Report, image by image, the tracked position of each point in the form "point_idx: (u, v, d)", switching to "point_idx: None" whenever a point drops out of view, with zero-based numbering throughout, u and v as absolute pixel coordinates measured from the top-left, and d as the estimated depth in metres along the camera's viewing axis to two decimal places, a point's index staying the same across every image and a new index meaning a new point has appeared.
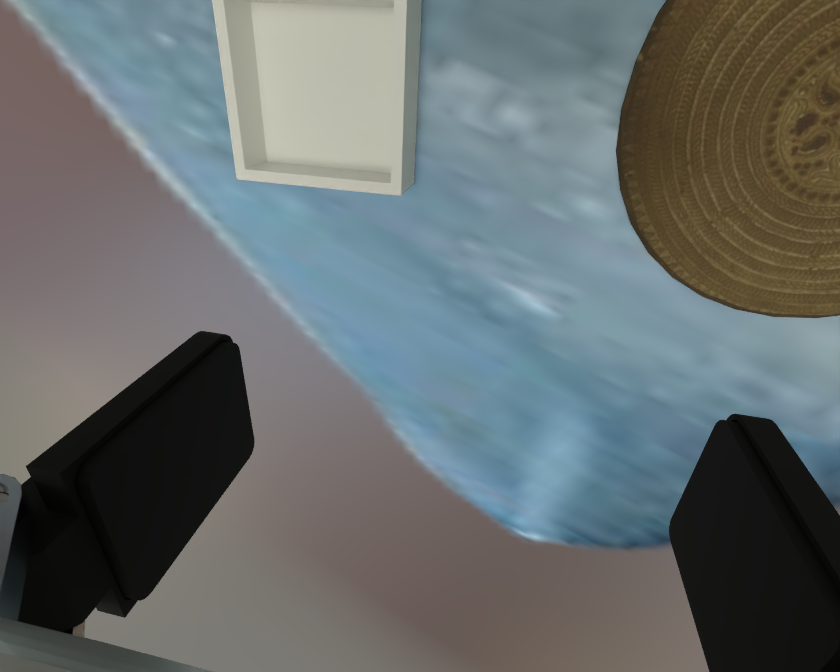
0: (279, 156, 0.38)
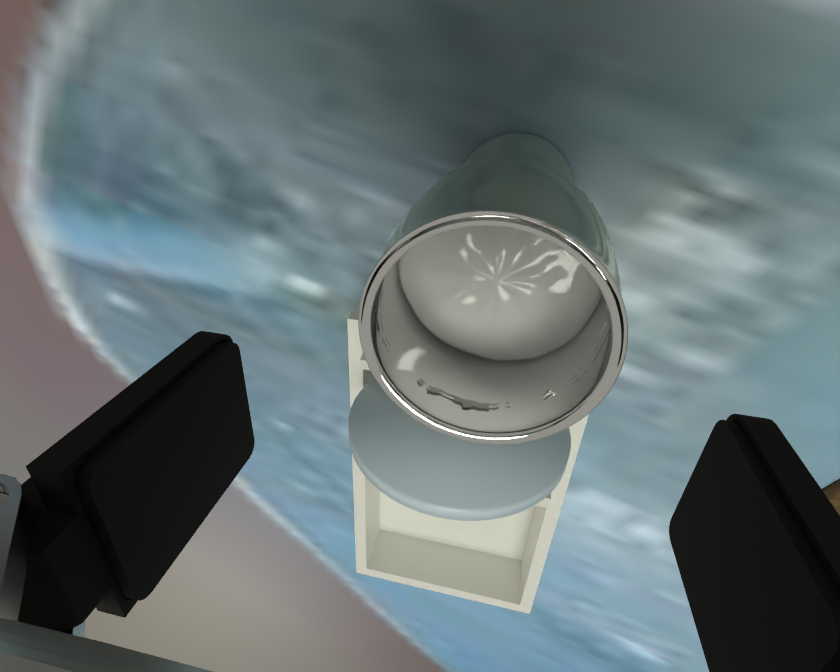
0: (393, 528, 0.38)
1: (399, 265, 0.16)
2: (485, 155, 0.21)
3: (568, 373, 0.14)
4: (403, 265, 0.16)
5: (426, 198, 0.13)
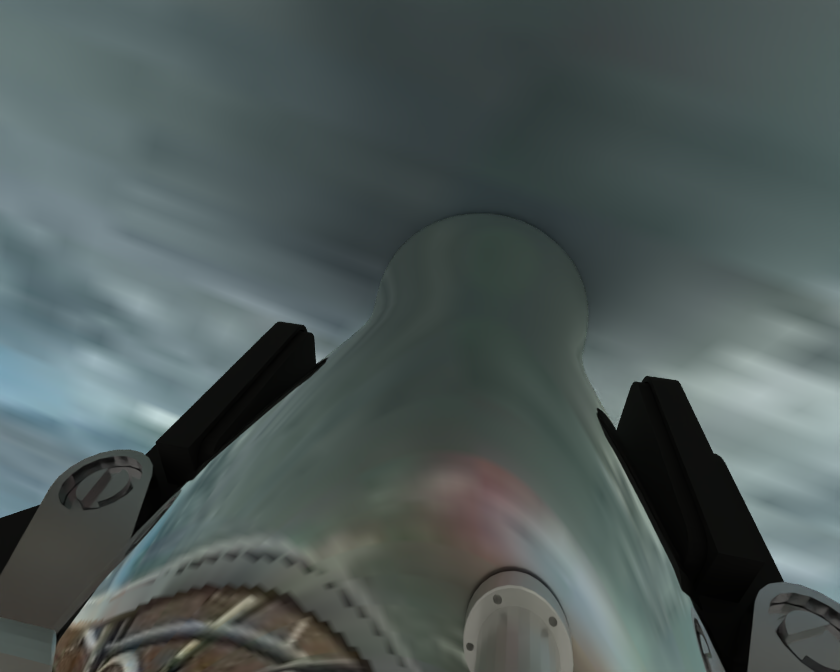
0: None
1: None
2: (418, 265, 0.11)
3: None
4: None
5: None
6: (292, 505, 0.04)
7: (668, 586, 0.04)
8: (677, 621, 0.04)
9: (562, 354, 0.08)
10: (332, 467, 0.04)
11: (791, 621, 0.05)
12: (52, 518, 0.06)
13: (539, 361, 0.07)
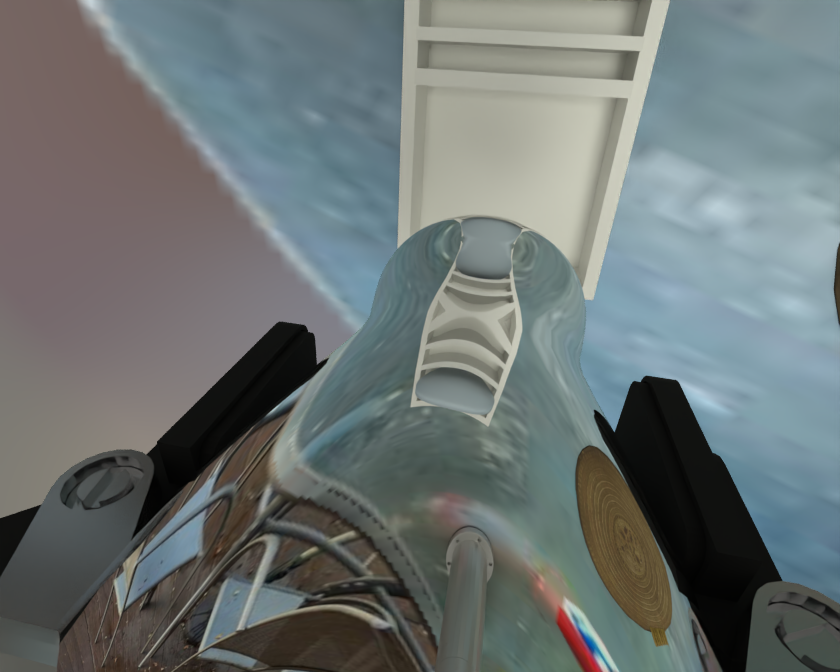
0: None
1: None
2: (415, 267, 0.11)
3: None
4: None
5: None
6: (289, 514, 0.04)
7: (668, 593, 0.04)
8: (677, 628, 0.04)
9: (560, 357, 0.08)
10: (329, 475, 0.04)
11: (789, 620, 0.05)
12: (53, 518, 0.06)
13: (537, 364, 0.07)
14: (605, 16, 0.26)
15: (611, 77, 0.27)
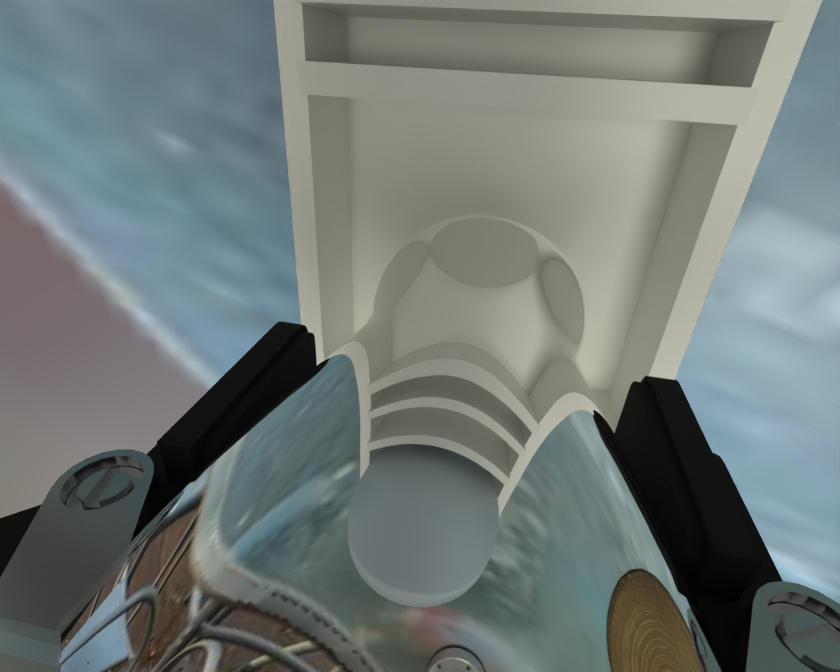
0: None
1: None
2: (415, 268, 0.11)
3: None
4: None
5: None
6: (289, 515, 0.04)
7: (667, 594, 0.04)
8: (677, 630, 0.04)
9: (560, 357, 0.08)
10: (329, 476, 0.04)
11: (789, 620, 0.05)
12: (53, 518, 0.06)
13: (537, 365, 0.07)
14: None
15: (686, 79, 0.14)
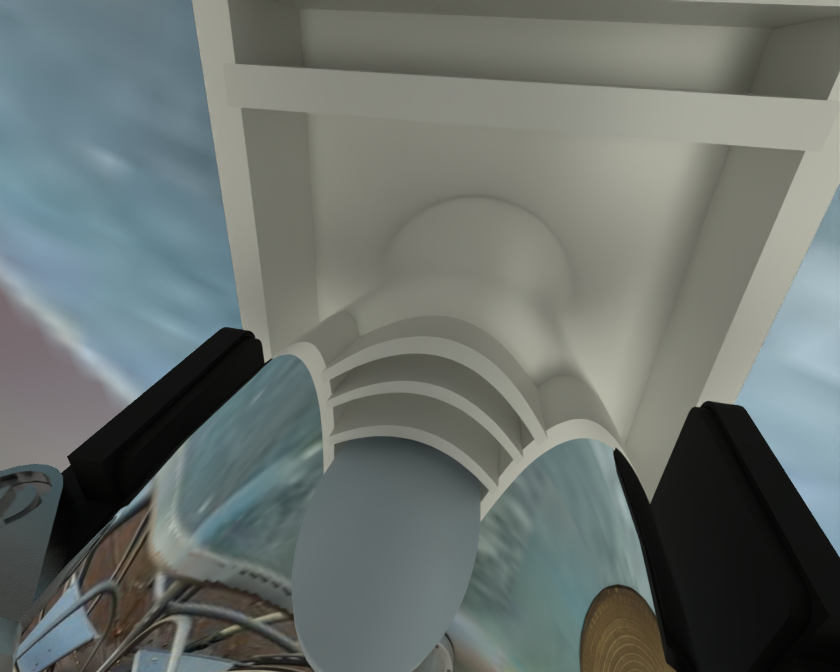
0: None
1: None
2: (415, 242, 0.12)
3: None
4: None
5: (79, 561, 0.04)
6: (317, 385, 0.05)
7: (605, 453, 0.05)
8: (608, 472, 0.05)
9: (539, 308, 0.09)
10: (345, 364, 0.05)
11: None
12: None
13: (516, 308, 0.08)
14: None
15: (724, 86, 0.11)
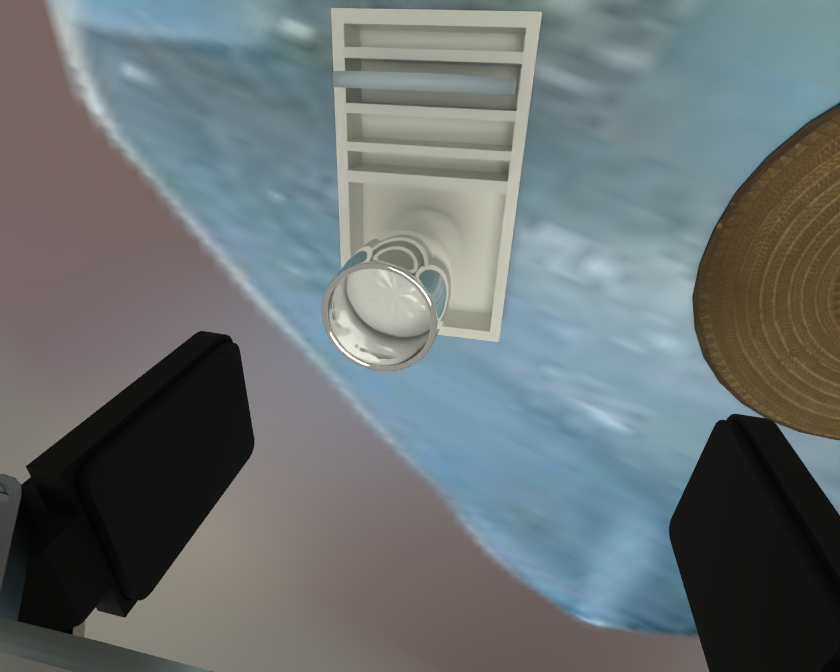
0: None
1: (346, 287, 0.30)
2: (402, 223, 0.36)
3: None
4: (348, 288, 0.30)
5: (353, 255, 0.27)
6: (383, 237, 0.29)
7: (435, 250, 0.29)
8: (433, 251, 0.29)
9: (435, 236, 0.33)
10: (388, 235, 0.29)
11: None
12: None
13: (426, 233, 0.32)
14: (492, 128, 0.34)
15: (501, 171, 0.35)
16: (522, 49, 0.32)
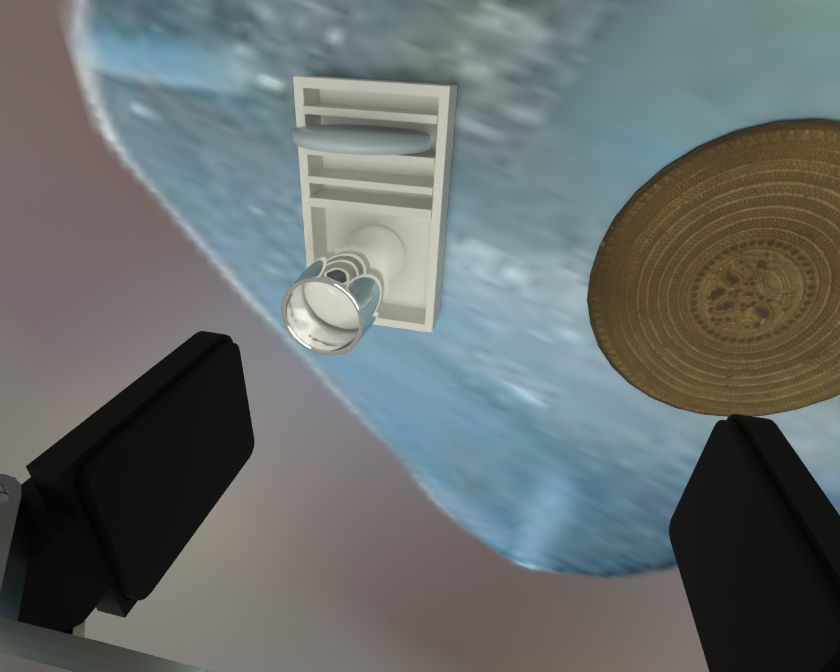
0: None
1: (304, 291, 0.40)
2: (354, 237, 0.45)
3: None
4: (305, 291, 0.40)
5: (306, 269, 0.37)
6: (330, 254, 0.38)
7: (369, 265, 0.38)
8: (367, 266, 0.38)
9: (376, 251, 0.42)
10: (334, 253, 0.38)
11: None
12: None
13: (367, 249, 0.41)
14: (423, 164, 0.43)
15: (432, 198, 0.45)
16: None
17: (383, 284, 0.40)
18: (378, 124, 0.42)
